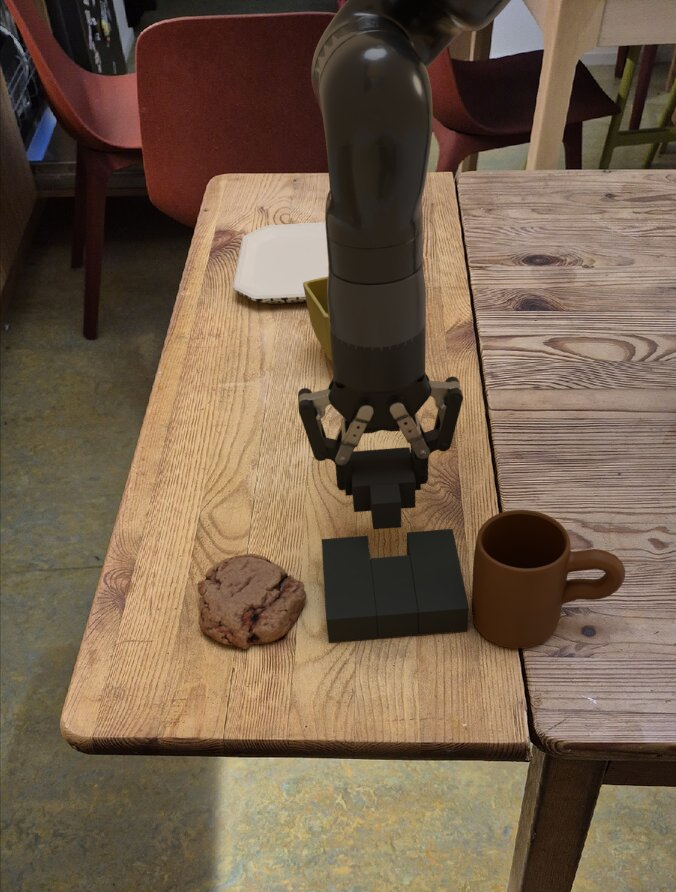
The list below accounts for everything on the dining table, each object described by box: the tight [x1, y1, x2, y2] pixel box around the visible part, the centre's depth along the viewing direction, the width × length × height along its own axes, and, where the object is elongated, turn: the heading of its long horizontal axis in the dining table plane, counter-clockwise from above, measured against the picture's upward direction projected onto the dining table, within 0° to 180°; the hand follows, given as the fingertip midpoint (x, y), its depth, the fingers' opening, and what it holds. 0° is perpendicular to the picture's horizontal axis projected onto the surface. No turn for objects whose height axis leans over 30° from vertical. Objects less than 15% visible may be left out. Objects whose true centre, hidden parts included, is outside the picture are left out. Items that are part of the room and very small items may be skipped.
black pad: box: [351, 446, 417, 531], centre depth 82 cm, size 6×8×3 cm
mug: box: [471, 509, 626, 649], centre depth 76 cm, size 12×8×9 cm, turn 73°
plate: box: [232, 221, 328, 305], centre depth 125 cm, size 21×21×2 cm
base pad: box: [321, 528, 470, 644], centre depth 82 cm, size 12×10×3 cm
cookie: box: [197, 553, 307, 650], centre depth 82 cm, size 10×11×3 cm
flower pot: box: [303, 277, 332, 363], centre depth 107 cm, size 9×9×9 cm
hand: (382, 486), depth 84 cm, fingers closed on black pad, 5 cm apart
